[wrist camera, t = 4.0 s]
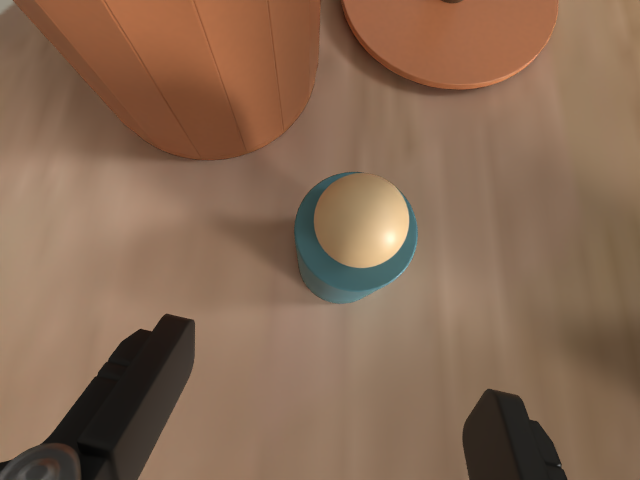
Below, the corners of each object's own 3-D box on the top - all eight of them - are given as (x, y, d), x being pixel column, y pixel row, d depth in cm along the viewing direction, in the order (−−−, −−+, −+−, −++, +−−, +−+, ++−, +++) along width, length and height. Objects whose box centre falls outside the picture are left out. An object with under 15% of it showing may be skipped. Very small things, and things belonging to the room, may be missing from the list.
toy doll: (389, 230, 22) (454, 153, 12) (374, 312, 21) (431, 299, 11) (308, 212, 22) (310, 122, 12) (289, 292, 21) (274, 263, 11)
